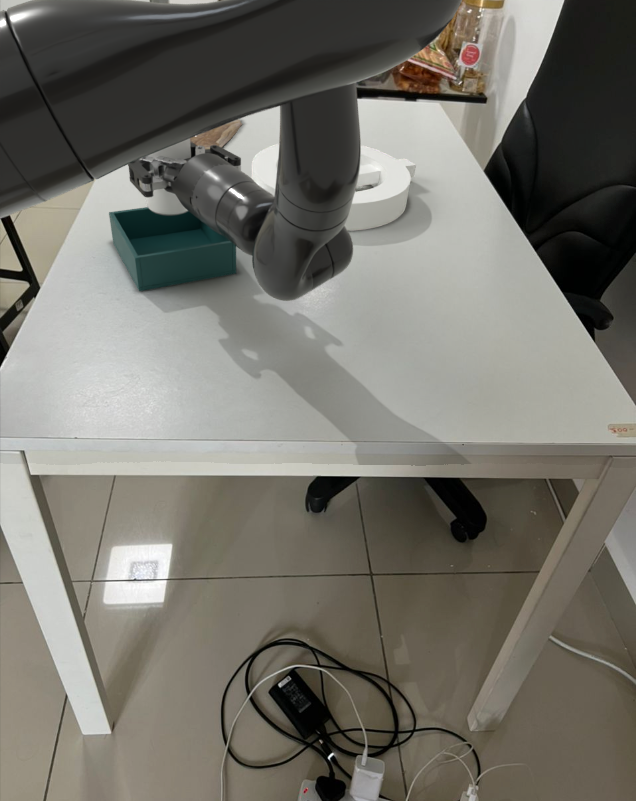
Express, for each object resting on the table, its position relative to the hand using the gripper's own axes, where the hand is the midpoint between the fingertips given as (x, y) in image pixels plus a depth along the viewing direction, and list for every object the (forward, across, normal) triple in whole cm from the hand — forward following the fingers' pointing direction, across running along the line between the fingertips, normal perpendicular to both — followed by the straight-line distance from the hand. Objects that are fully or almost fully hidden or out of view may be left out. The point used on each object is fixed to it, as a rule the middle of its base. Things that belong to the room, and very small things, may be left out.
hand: (158, 150), depth 86 cm
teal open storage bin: (-2, 0, +15) cm, 15 cm away
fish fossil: (+39, -28, +15) cm, 51 cm away
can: (-2, 0, +7) cm, 8 cm away
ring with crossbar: (+5, -35, +16) cm, 39 cm away
